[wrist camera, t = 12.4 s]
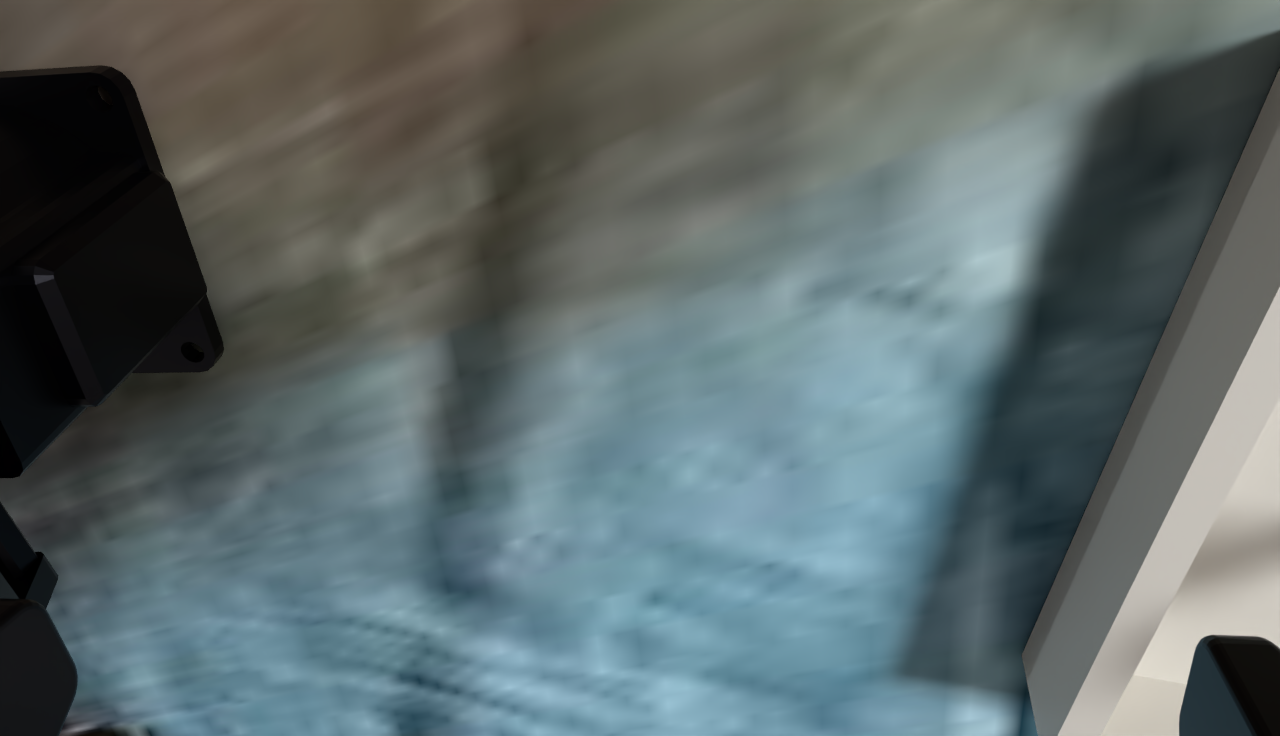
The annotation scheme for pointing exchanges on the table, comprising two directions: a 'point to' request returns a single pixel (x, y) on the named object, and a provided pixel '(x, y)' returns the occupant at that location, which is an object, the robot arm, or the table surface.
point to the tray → (1180, 489)
